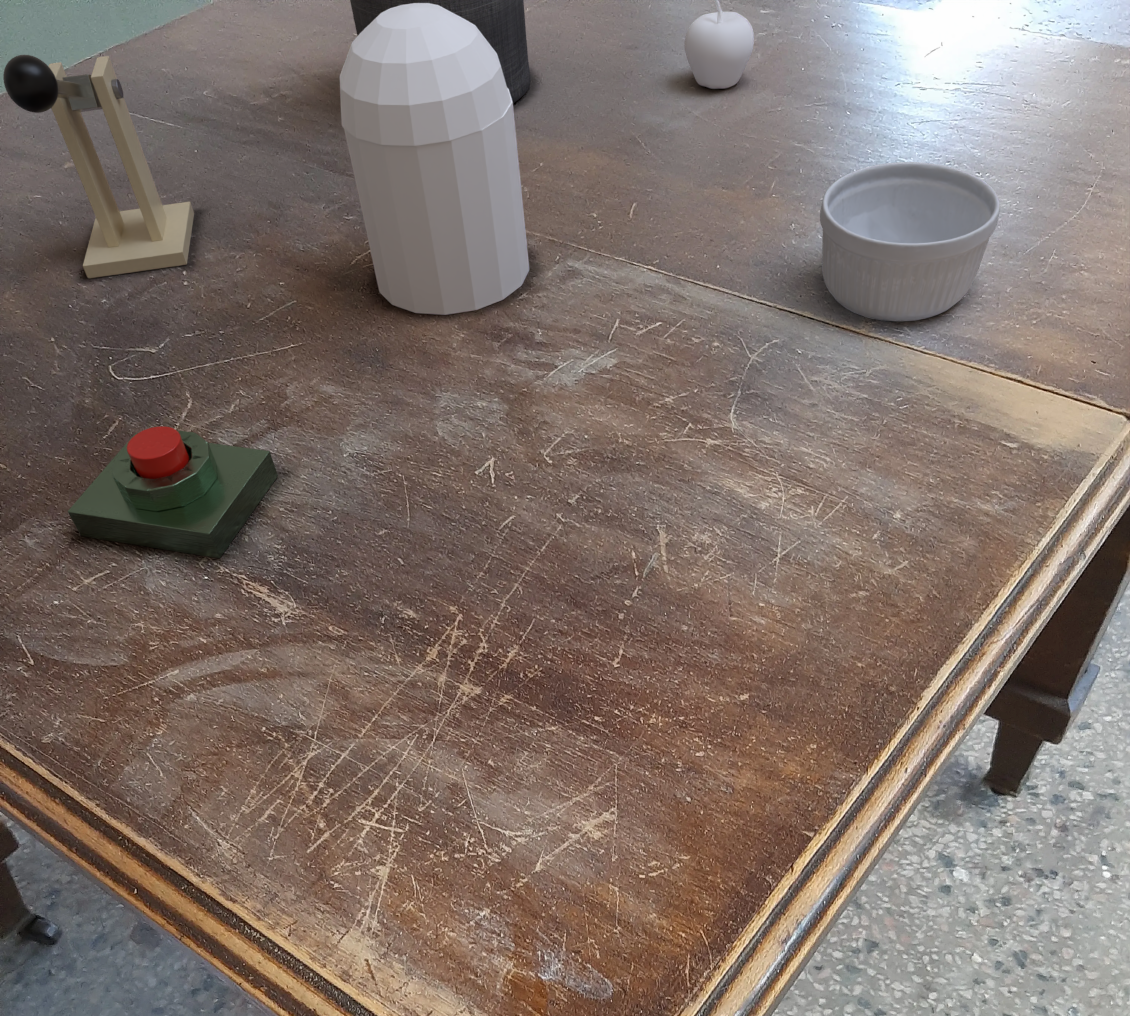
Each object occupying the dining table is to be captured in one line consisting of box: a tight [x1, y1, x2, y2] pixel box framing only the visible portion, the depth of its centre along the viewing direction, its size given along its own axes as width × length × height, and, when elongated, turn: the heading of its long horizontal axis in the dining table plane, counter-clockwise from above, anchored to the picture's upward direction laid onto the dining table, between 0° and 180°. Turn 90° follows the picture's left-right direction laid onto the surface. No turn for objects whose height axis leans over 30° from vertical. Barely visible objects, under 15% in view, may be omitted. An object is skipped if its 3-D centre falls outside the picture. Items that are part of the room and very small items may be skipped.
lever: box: [2, 54, 103, 114], centre depth 85 cm, size 17×4×4 cm, turn 8°
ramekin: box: [819, 161, 1001, 322], centre depth 85 cm, size 13×13×7 cm
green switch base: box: [67, 429, 279, 559], centre depth 75 cm, size 11×9×4 cm
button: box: [127, 425, 189, 479], centre depth 73 cm, size 4×4×2 cm
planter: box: [349, 0, 532, 104], centre depth 112 cm, size 18×18×16 cm
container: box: [339, 3, 530, 316], centre depth 86 cm, size 14×13×20 cm
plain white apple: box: [684, 0, 755, 90], centre depth 111 cm, size 7×7×8 cm
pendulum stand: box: [48, 55, 195, 279], centre depth 95 cm, size 10×9×15 cm
